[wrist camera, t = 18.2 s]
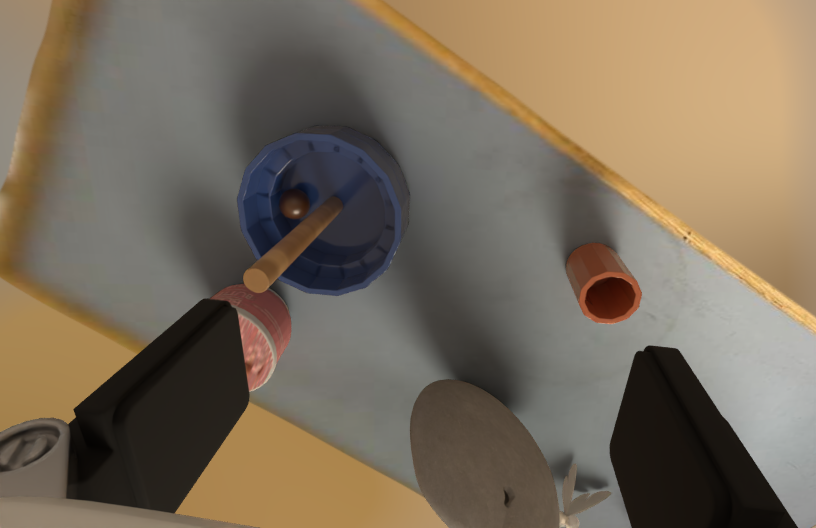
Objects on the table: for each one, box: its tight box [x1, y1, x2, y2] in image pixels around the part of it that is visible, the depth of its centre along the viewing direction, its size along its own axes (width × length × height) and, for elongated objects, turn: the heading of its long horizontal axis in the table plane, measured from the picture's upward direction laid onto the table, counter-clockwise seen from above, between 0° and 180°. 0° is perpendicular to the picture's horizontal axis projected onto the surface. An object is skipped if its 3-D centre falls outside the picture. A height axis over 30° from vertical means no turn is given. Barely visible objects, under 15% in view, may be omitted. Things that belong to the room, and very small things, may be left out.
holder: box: [566, 243, 642, 324], centre depth 43 cm, size 5×5×7 cm
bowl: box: [237, 125, 410, 296], centre depth 44 cm, size 15×15×6 cm
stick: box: [243, 197, 343, 293], centre depth 38 cm, size 2×2×18 cm
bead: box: [279, 189, 310, 219], centre depth 46 cm, size 3×3×3 cm
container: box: [210, 284, 291, 391], centre depth 50 cm, size 10×10×8 cm
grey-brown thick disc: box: [410, 379, 560, 528], centre depth 46 cm, size 18×7×19 cm, turn 51°
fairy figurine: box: [559, 464, 611, 528], centre depth 57 cm, size 6×7×7 cm
